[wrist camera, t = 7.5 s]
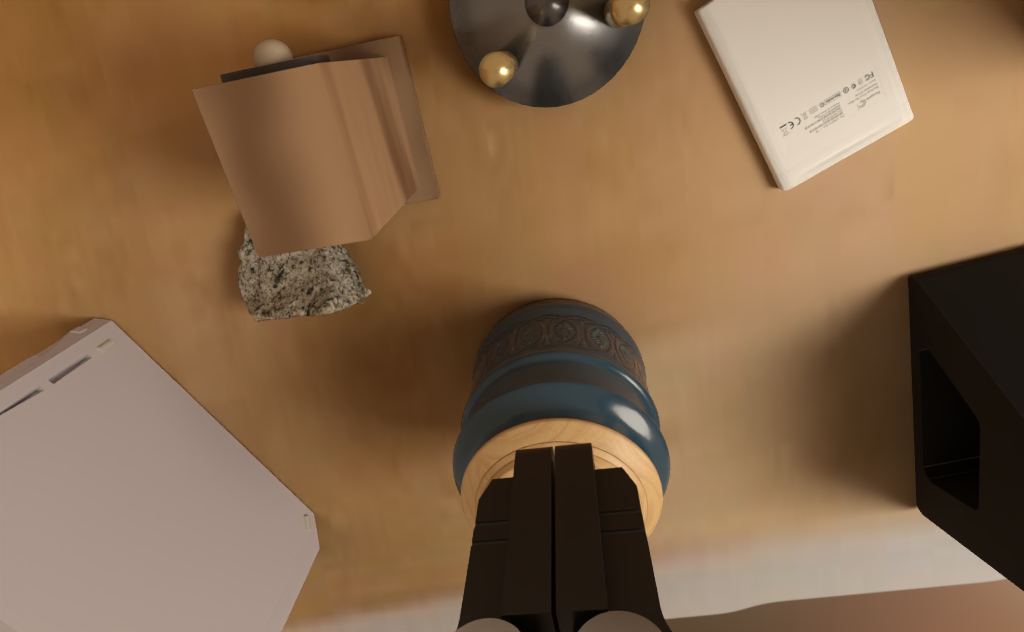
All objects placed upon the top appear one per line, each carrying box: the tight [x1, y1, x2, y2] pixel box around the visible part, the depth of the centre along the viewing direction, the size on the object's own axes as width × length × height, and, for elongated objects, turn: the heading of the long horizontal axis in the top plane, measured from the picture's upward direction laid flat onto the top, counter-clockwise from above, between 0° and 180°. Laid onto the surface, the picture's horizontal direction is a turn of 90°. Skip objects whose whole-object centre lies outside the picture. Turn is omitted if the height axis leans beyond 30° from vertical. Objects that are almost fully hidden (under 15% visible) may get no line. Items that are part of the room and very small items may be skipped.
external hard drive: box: [694, 0, 914, 191], centre depth 33 cm, size 2×8×12 cm
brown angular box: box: [192, 36, 440, 258], centre depth 31 cm, size 8×10×12 cm
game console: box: [0, 318, 320, 632], centre depth 41 cm, size 6×27×20 cm, turn 34°
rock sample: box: [237, 224, 371, 323], centre depth 39 cm, size 10×8×9 cm
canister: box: [453, 299, 670, 538], centre depth 36 cm, size 13×13×18 cm
